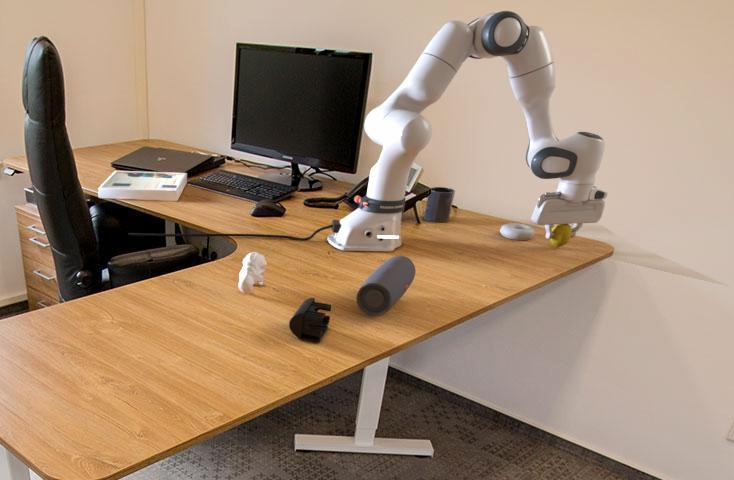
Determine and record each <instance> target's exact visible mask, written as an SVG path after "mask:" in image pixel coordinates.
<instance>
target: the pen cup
mask: <svg viewBox="0 0 734 480" xmlns="http://www.w3.org/2000/svg"><path fill="white" fill-rule="evenodd" d="M429 189H431V194H430V195H429V196H428V195H427V200H426V204H425V210H424V214H423V215H424V216H423V220H425V221H427V222H431V223H441V224H442V223H447V222H449V220H450V218H451V217H450V216H451V211H452V207H453V203H454V198H455V194H456V190H455V189H454V188H450V187H445V186H435V187H434V186H433V187H430V188H429Z"/></svg>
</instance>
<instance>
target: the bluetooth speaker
mask: <svg viewBox="0 0 734 480" xmlns="http://www.w3.org/2000/svg"><path fill="white" fill-rule="evenodd" d="M415 277H416V265H415V264H414V262H413V261H412V259H410V258H409V257H407V256H404V255H395V256H394V255H393V256H392V257H390V258H388V259H386V260H385V261H384V262H382V264H381V263H380V265H379V266H378V267H377V268H376V269H375V270H373V271H372V273H371V274H369V276H368V277H367V278H366V280H365V281H364V282H363V283H362V284H361V285H360V287H359V290H358V291H357V294H356V298H355V300H356V305H357V307H358V309H359V310H360V311H361V312H362V313H363V314H366V315H368V316H372V317H379V316H381V315H384V314H385V313H387V312H388V311H390V310H391V309H392V308H393V307H394V306H395V305H396V303H398V302H399V300H401V298H402V297H403V296H404V295H405V293H406V292H407V290H408V289H409V288H410V286H411V284H412V283H413V281H414V279H415Z"/></svg>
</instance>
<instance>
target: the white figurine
mask: <svg viewBox="0 0 734 480" xmlns="http://www.w3.org/2000/svg"><path fill="white" fill-rule="evenodd" d="M267 264H268V263H267V261H266V260H265V256H264V255H263V254H261V253H259V252H257V251H251V252H250V253H248V254H246V256H245V257H244V258H243V260H242V265H243V266H242V268H241V270H240V271H239V274H238V278H239V281H238V286H237V288H238V290H239V291H240V292H241V293H243V294H244V295H245V294H248V293H253V291H254V290H255V288H256V287H253V286H254V285H255V284H257V285H258V286H260V287H261V286H264V282H263V281H264V278H265V277H264V273H265V272H266V269H267Z"/></svg>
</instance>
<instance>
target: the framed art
mask: <svg viewBox="0 0 734 480" xmlns="http://www.w3.org/2000/svg"><path fill="white" fill-rule="evenodd" d="M187 182H188V173H187V172H171V171H170V172H167V171H142V170H141V171H139V170H132V171H131V170H114V171H113V172H112V173H111V174H110V175H109V176H108V177H107V178H106V179H105V180H104V181H103V183H102V184H100V186H99V187H98V188H97V193H98V194H97V195H98V199H111V200H112V199H113V200H139V201H165V202H178V200H179V198H180V197H181V195H182V193H183V191H184V189H185V187H186V185H187Z"/></svg>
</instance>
